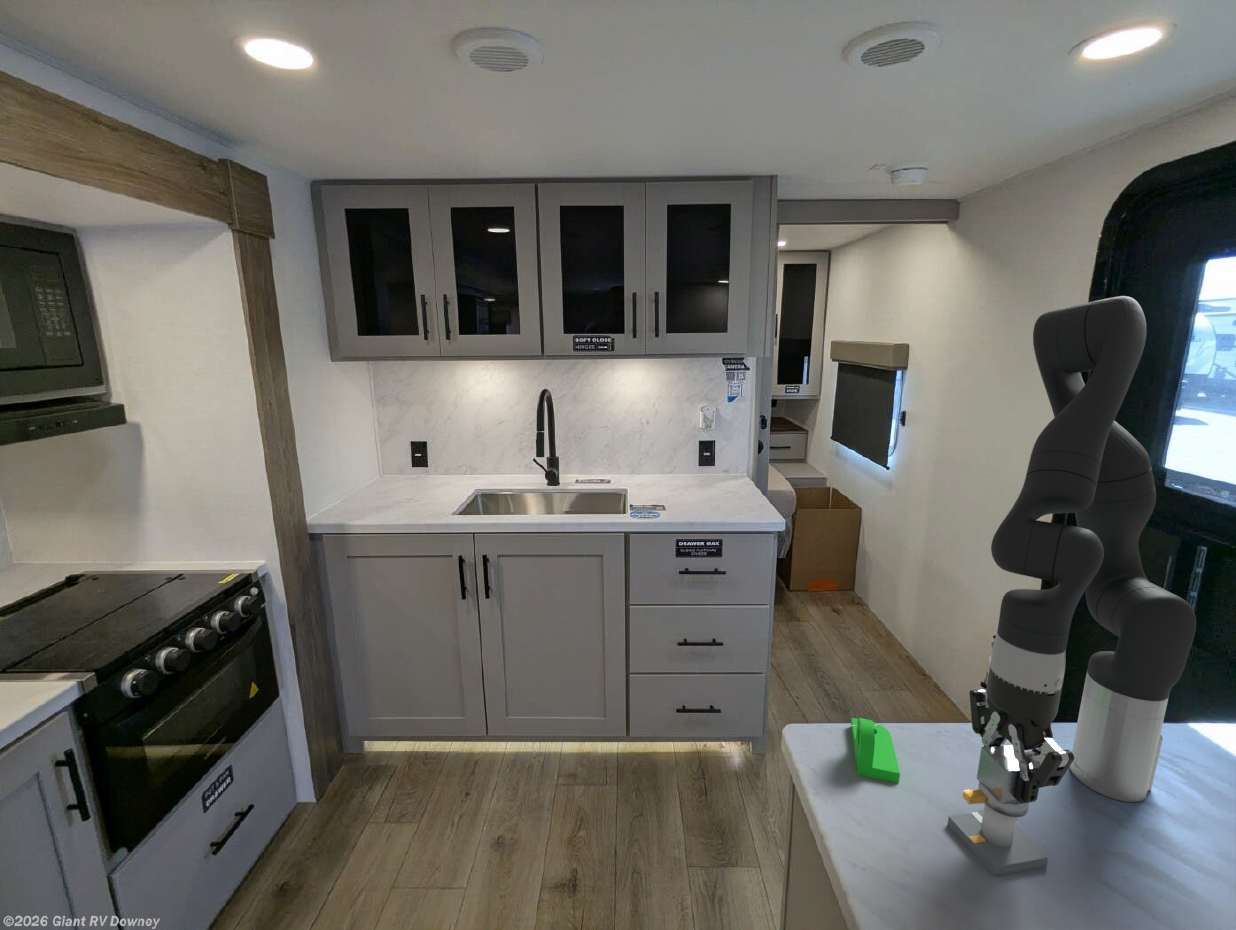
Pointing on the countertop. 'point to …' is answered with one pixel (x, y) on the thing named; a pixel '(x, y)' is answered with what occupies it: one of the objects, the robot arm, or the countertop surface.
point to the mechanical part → (874, 751)
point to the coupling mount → (997, 841)
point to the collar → (998, 782)
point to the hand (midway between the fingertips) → (1007, 784)
